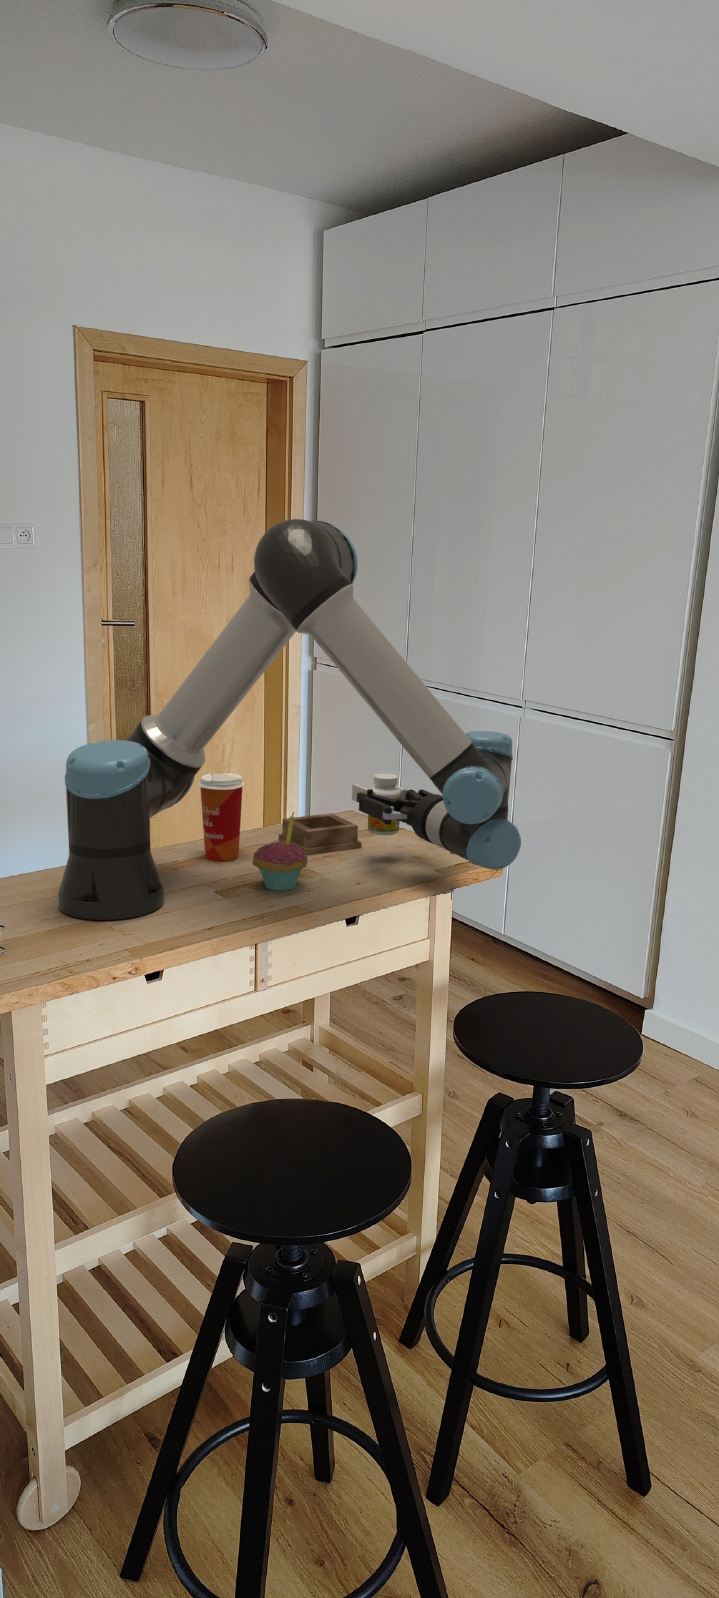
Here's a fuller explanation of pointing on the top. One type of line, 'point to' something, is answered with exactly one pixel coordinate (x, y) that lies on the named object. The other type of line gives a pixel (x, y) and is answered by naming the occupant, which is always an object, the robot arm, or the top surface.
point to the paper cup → (221, 815)
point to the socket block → (322, 833)
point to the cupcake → (280, 862)
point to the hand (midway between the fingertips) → (369, 790)
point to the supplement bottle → (386, 788)
